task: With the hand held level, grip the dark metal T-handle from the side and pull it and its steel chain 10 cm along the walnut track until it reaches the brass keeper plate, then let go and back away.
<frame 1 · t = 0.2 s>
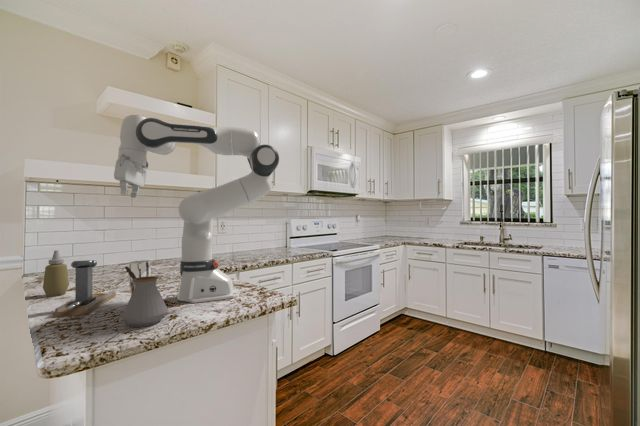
hand: (129, 196, 109), 39 cm above the counter, tool pointing down, fingers open, 8 cm apart
coffee pot: (138, 319, 90), on the counter
handle: (79, 283, 100), point 9 cm above the counter, slide at 0.0 cm
squeeze bottle: (56, 295, 121), on the counter
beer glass: (139, 303, 107), on the counter
track: (88, 305, 105), on the counter
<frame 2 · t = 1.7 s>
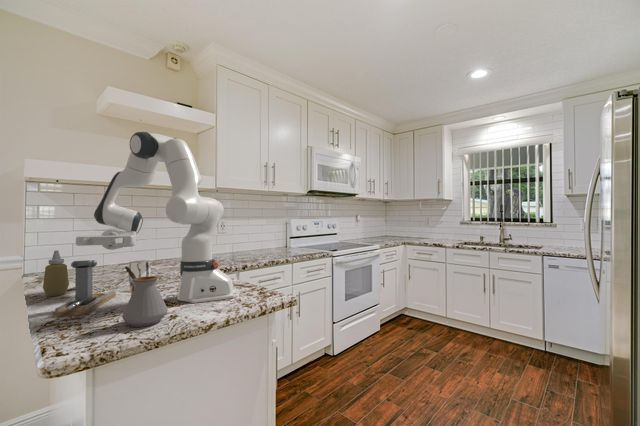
hand: (99, 241, 115), 22 cm above the counter, tool horizontal, fingers open, 8 cm apart
nothing on the counter moved.
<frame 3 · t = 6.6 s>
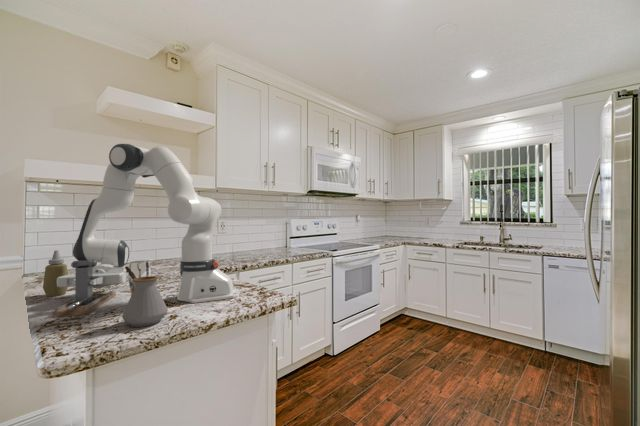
hand: (82, 283, 102), 9 cm above the counter, tool horizontal, fingers closed on handle, 3 cm apart
handle: (79, 283, 100), point 9 cm above the counter, slide at 0.0 cm, touching gripper
everything else where it was.
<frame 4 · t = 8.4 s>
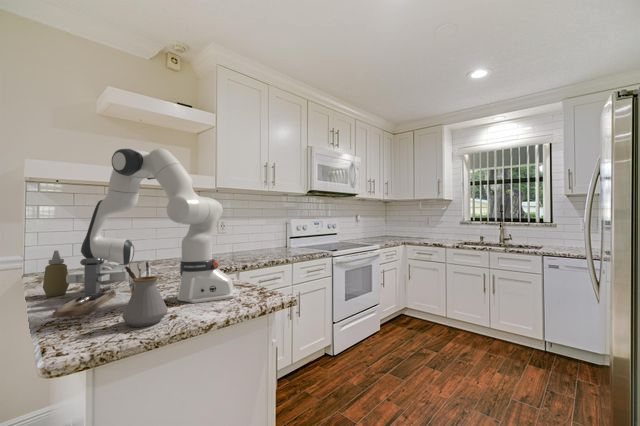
hand: (91, 279, 108), 9 cm above the counter, tool horizontal, fingers closed on handle, 3 cm apart
handle: (88, 279, 106), point 9 cm above the counter, slide at 6.2 cm, touching gripper
everything else where it was.
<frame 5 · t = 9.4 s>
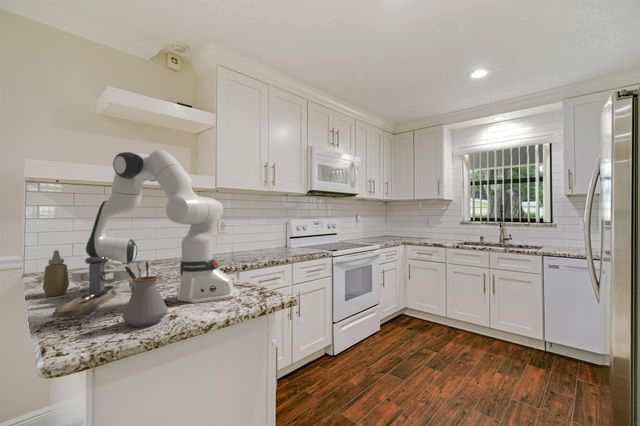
hand: (95, 278, 111), 9 cm above the counter, tool horizontal, fingers closed on handle, 3 cm apart
handle: (93, 277, 109), point 9 cm above the counter, slide at 9.9 cm, touching gripper
everything else where it was.
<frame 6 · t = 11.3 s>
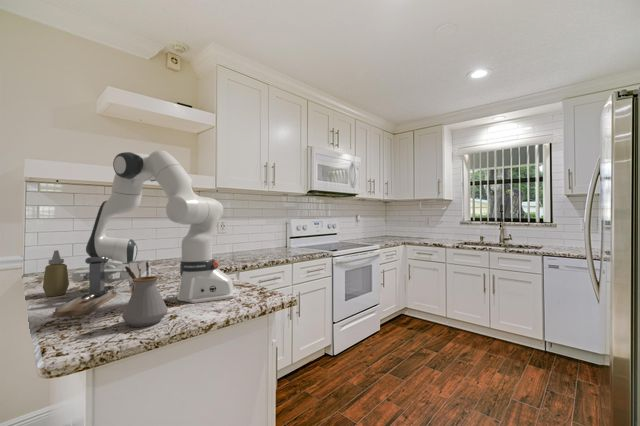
hand: (96, 277, 111), 9 cm above the counter, tool horizontal, fingers open, 8 cm apart
handle: (93, 277, 109), point 9 cm above the counter, slide at 10.0 cm
everything else where it was.
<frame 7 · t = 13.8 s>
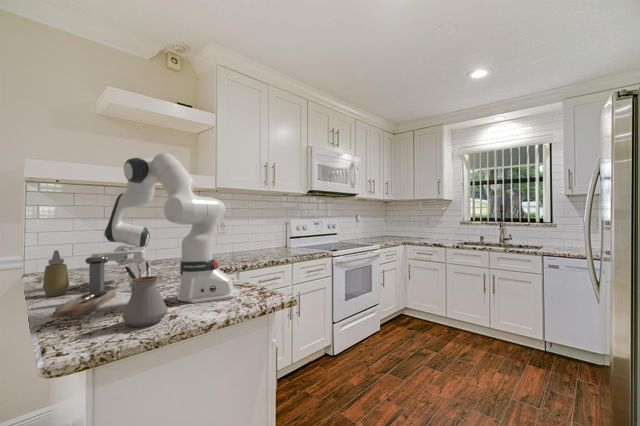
hand: (113, 257, 125), 14 cm above the counter, tool horizontal, fingers open, 8 cm apart
nothing on the counter moved.
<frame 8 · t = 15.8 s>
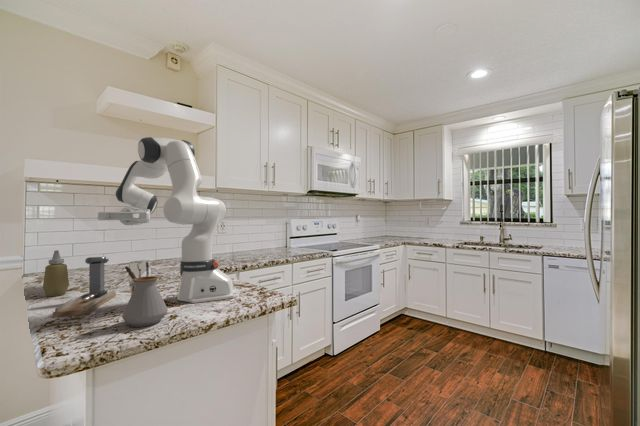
hand: (119, 215, 129), 32 cm above the counter, tool horizontal, fingers open, 8 cm apart
nothing on the counter moved.
at the end: handle slide at 10.0 cm; the gripper is holding nothing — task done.
